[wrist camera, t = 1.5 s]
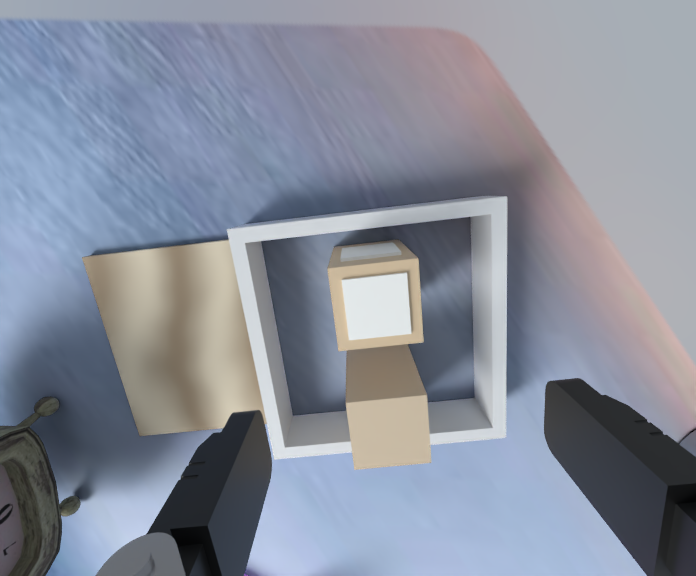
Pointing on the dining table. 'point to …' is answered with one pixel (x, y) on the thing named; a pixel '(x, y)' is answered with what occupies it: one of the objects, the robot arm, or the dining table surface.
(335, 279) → the labelled box
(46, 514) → the tabletop clock
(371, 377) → the plain box
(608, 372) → the dining table surface
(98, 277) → the board
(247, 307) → the bin
